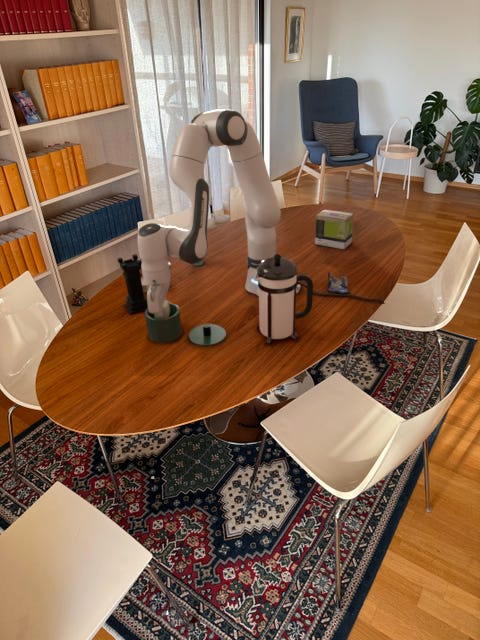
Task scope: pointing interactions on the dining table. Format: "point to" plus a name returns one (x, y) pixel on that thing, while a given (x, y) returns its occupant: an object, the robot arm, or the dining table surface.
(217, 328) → the lid
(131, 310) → the chess piece
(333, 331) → the dining table surface
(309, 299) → the coffee press
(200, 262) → the cupcake
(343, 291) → the snack package
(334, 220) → the tea box
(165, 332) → the green hollow cylinder
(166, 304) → the block
